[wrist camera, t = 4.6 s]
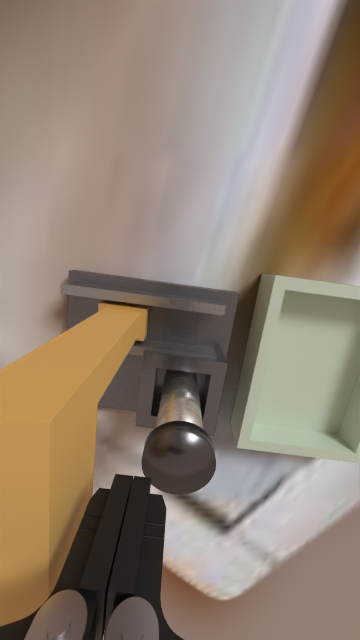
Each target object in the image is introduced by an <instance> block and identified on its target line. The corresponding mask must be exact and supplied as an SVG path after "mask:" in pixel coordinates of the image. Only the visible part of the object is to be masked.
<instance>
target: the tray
mask: <svg viewBox="0 0 360 640" xmlns="http://www.w3.org/2000/svg"><path fill="white" fill-rule="evenodd" d="M230 426H231V429H232V433H233V436H234V440H235V443H236V447H237V448H241V449H249V450H257V451H265V452H273V453H281V454H289V455H297V456H306V457H314V458H322V459H330V460H338V461H346V462H354V463H360V287H359V286H352V285H344V284H337V283H330V282H323V281H315V280H308V279H301V278H293V277H286V276H279V275H272V274H264V273H262V275H261V279H260V284H259V289H258V294H257V298H256V303H255V308H254V313H253V317H252V322H251V327H250V332H249V336H248V341H247V346H246V351H245V355H244V360H243V365H242V370H241V374H240V379H239V384H238V389H237V394H236V398H235V403H234V408H233V413H232V417H231V422H230Z"/></svg>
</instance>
